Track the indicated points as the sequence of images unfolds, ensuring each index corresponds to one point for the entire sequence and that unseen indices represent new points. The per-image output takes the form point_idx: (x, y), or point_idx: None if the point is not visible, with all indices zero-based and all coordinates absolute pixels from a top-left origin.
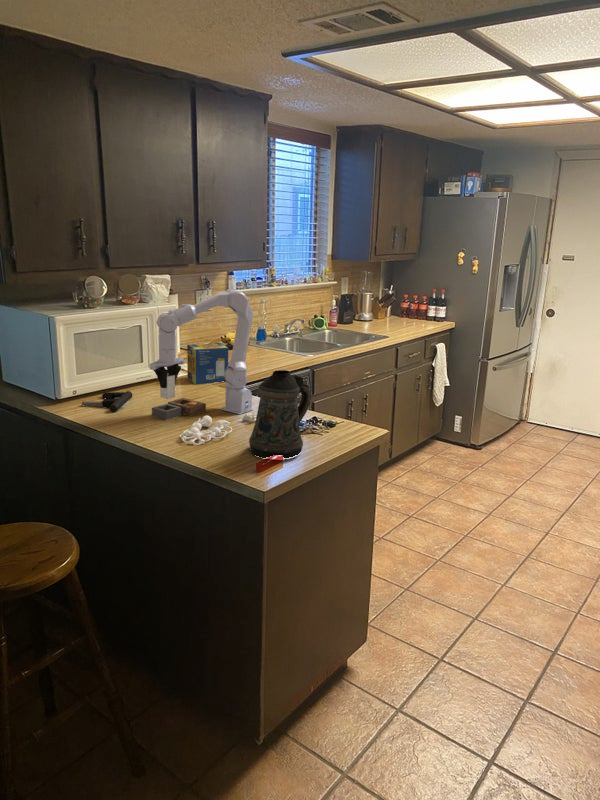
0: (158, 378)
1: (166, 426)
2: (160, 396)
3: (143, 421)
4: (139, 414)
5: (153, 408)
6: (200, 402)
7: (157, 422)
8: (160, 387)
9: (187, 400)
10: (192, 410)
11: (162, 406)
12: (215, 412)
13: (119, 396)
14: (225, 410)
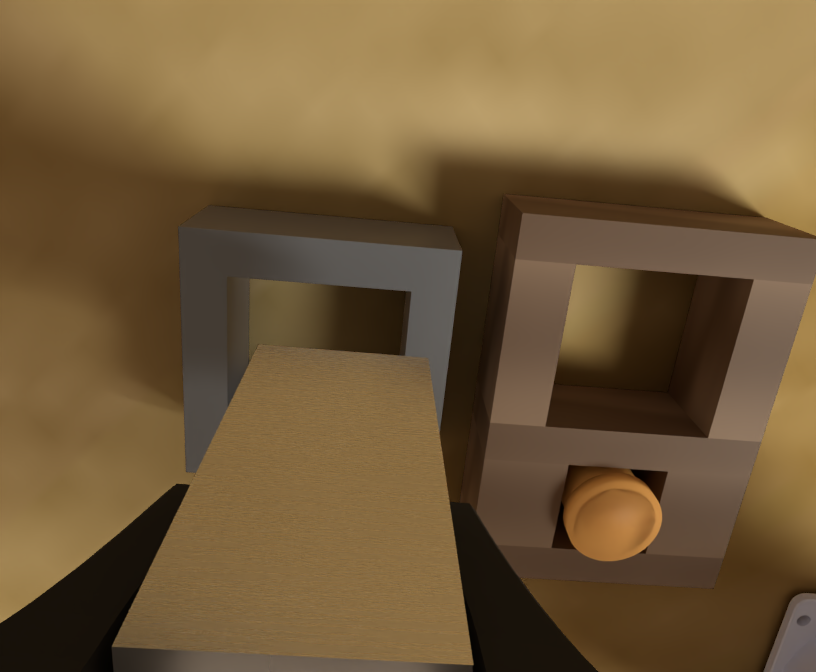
0: (33, 619)
1: (83, 534)
2: (255, 353)
3: (5, 269)
4: (139, 31)
5: (180, 258)
6: (724, 526)
7: (98, 402)
8: (219, 435)
9: (728, 364)
10: None
11: (330, 284)
12: (694, 602)
13: None
14: (773, 649)
